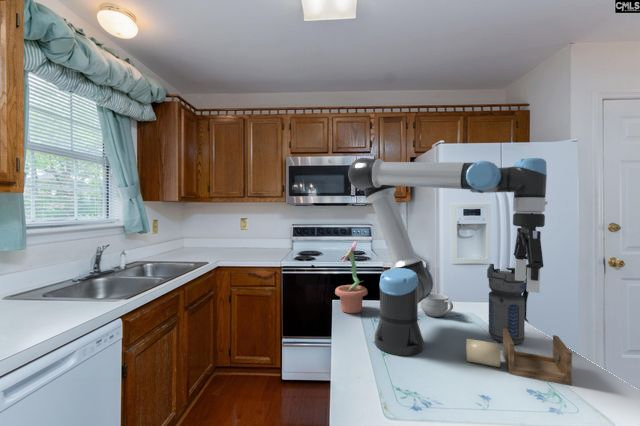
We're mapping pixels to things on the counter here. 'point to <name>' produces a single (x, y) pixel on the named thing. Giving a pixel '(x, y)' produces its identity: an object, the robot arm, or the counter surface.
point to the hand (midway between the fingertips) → (525, 285)
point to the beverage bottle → (507, 304)
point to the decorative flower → (351, 289)
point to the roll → (483, 352)
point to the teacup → (436, 305)
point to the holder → (539, 362)
